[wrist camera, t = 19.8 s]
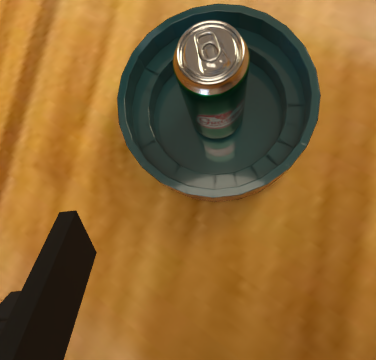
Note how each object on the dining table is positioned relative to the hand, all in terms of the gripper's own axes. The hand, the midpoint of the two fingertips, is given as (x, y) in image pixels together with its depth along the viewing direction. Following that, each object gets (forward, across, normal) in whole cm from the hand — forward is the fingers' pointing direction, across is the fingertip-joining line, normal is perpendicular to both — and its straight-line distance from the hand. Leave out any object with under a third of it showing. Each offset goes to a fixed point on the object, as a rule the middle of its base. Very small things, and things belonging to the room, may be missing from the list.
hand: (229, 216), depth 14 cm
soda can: (+20, 0, -5) cm, 20 cm away
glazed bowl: (+20, 0, -5) cm, 20 cm away
